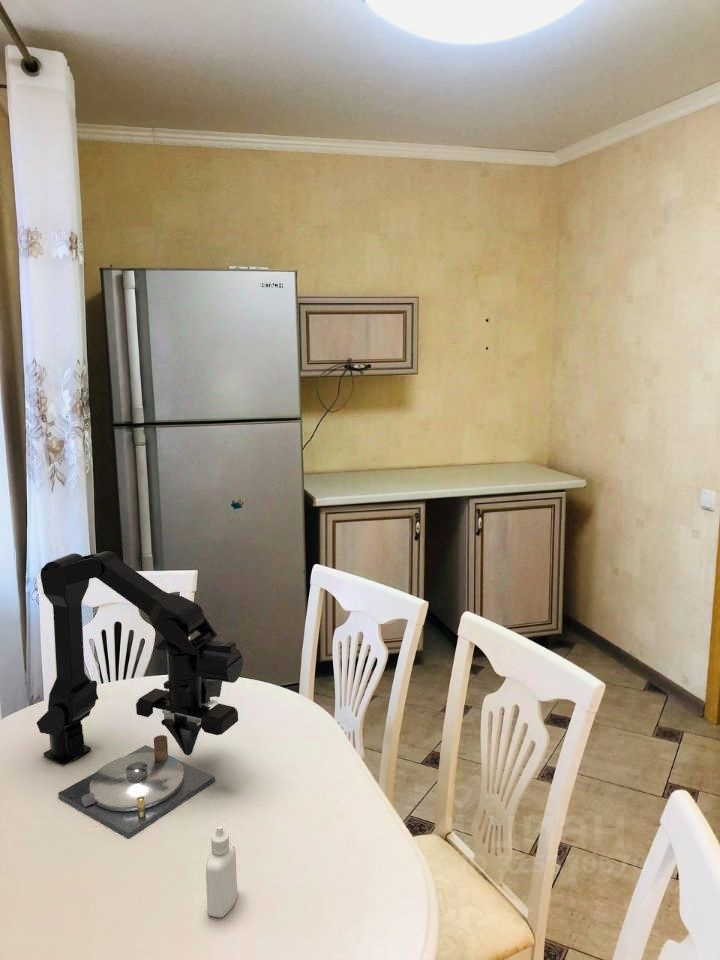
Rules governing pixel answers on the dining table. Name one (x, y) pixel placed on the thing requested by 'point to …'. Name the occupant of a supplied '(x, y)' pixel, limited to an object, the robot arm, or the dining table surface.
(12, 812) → the dining table surface
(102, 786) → the metal crank wheel
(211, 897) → the eye dropper bottle
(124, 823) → the base
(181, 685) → the robot arm
